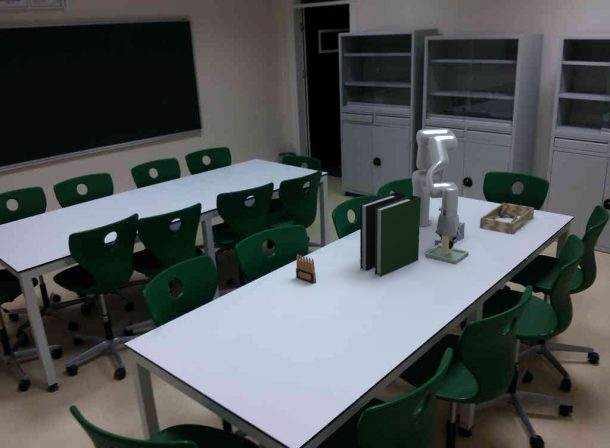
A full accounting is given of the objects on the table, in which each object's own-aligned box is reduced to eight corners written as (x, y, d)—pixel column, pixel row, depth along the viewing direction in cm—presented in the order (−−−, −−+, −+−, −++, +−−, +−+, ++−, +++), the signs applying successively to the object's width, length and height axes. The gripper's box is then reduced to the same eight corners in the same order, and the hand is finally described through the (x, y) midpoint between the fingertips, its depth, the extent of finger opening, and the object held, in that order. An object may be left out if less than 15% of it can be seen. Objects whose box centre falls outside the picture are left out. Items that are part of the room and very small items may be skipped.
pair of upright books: (382, 277, 244) (382, 210, 234) (358, 268, 255) (357, 204, 244) (418, 260, 261) (420, 197, 251) (394, 252, 272) (395, 191, 261)
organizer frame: (479, 228, 300) (480, 217, 298) (502, 212, 325) (503, 202, 323) (512, 234, 289) (513, 223, 287) (533, 217, 314) (534, 207, 312)
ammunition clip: (316, 282, 242) (315, 258, 238) (313, 284, 240) (312, 259, 236) (298, 276, 248) (297, 252, 245) (296, 277, 247) (294, 253, 243)
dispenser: (434, 244, 279) (434, 230, 277) (450, 234, 293) (450, 220, 290) (448, 247, 274) (449, 233, 272) (463, 237, 288) (464, 223, 285)
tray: (425, 256, 265) (425, 253, 264) (438, 248, 275) (438, 244, 274) (455, 264, 255) (456, 260, 254) (468, 254, 265) (468, 251, 264)
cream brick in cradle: (441, 252, 262) (441, 235, 259) (447, 248, 267) (448, 231, 264) (446, 254, 260) (447, 236, 258) (453, 249, 265) (454, 232, 263)
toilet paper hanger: (505, 235, 298) (511, 223, 294) (490, 228, 302) (495, 216, 298) (515, 220, 318) (520, 209, 314) (501, 214, 321) (506, 203, 318)
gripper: (430, 211, 260) (428, 246, 266) (461, 216, 250) (459, 253, 256) (437, 207, 265) (435, 241, 271) (468, 212, 255) (466, 248, 261)
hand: (447, 247), depth 263 cm, fingers closed on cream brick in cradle, 3 cm apart
